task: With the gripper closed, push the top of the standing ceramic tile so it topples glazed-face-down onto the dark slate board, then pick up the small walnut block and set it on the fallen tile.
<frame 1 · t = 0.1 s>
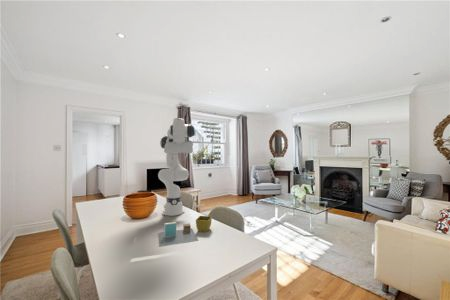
hand: (178, 159, 143), 48 cm above the table, fingers open, 8 cm apart
flower pot: (203, 231, 132), on the table
walnut block: (186, 230, 130), point 1 cm above the table, touching board
tile: (170, 236, 122), point 1 cm above the table, touching board
board: (177, 238, 121), on the table
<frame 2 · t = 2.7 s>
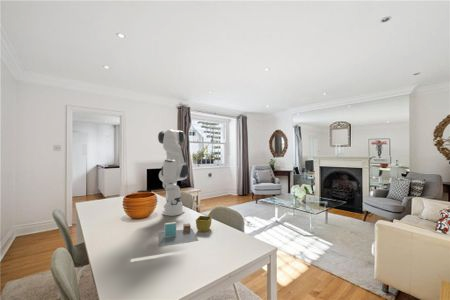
hand: (169, 205, 128), 18 cm above the table, fingers closed
nothing on the table moved.
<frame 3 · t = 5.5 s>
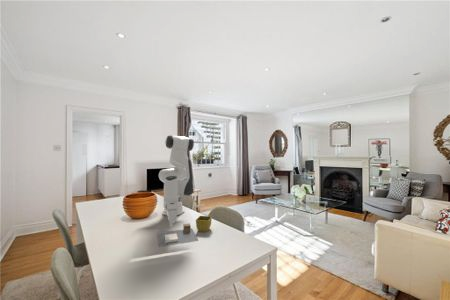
hand: (170, 225, 120), 8 cm above the table, fingers closed
tile: (170, 235, 121), point 2 cm above the table, tilted 90°, touching board
everything else where it was.
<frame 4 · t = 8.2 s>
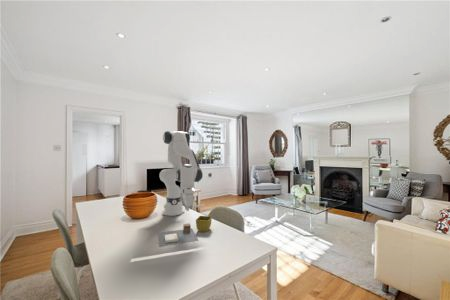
hand: (186, 209, 130), 15 cm above the table, fingers closed
nothing on the table moved.
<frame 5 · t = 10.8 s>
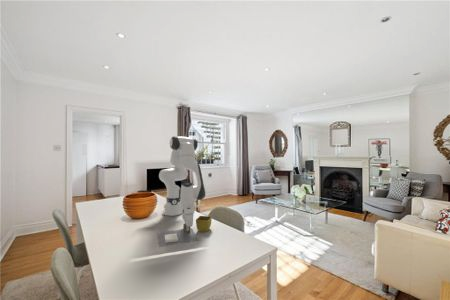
hand: (186, 228, 130), 3 cm above the table, fingers closed on walnut block, 4 cm apart
walnut block: (186, 230, 130), point 1 cm above the table, touching board, gripper
everything else where it was.
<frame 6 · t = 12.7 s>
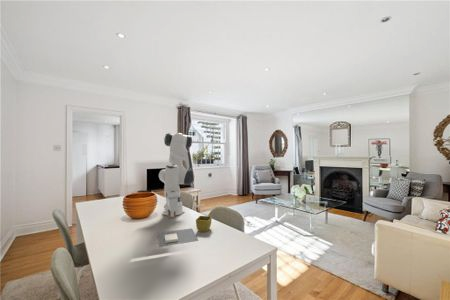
hand: (171, 215, 118), 15 cm above the table, fingers closed on walnut block, 4 cm apart
walnut block: (171, 217, 118), point 14 cm above the table, touching gripper
everything else where it was.
when the fingers open (5 cm above the table, at t = 14.8 s): walnut block drops 1 cm, resting on tile.
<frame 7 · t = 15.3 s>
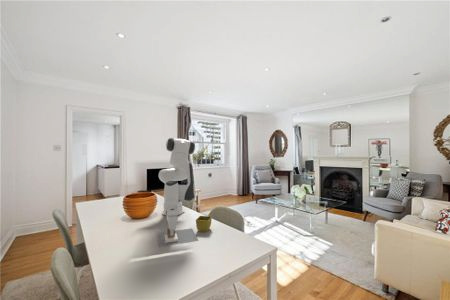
hand: (171, 231, 118), 5 cm above the table, fingers open, 8 cm apart
walnut block: (171, 236, 118), point 3 cm above the table, touching tile
tile: (170, 235, 121), point 2 cm above the table, tilted 90°, touching board, walnut block
everything else where it was.
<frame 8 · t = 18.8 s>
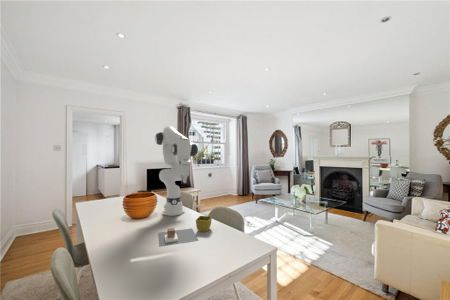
hand: (183, 181, 133), 33 cm above the table, fingers open, 8 cm apart
nothing on the table moved.
at the end: tile tilted 90°; walnut block 3.1 cm from the tile (horizontally); walnut block point 2.7 cm above the table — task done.
